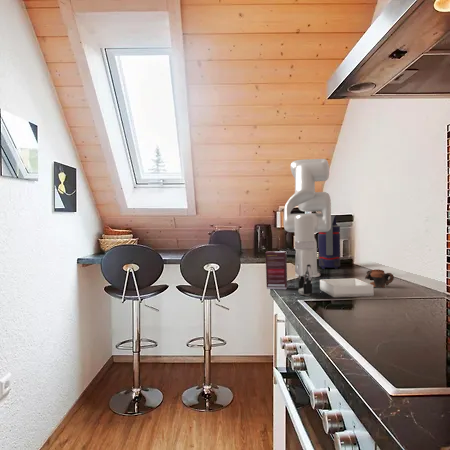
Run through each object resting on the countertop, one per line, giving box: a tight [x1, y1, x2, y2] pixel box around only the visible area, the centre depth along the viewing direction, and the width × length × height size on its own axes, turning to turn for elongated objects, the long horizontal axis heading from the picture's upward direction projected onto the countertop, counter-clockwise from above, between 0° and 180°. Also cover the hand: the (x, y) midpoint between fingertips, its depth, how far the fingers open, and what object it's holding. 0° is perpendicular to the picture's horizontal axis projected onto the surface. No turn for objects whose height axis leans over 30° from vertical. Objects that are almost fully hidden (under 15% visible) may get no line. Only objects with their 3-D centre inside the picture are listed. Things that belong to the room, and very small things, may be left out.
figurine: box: [298, 288, 311, 297], centre depth 146 cm, size 5×4×6 cm
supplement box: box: [265, 250, 288, 290], centre depth 160 cm, size 9×5×16 cm, turn 75°
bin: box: [319, 277, 375, 298], centre depth 150 cm, size 16×16×4 cm
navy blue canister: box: [318, 215, 341, 270], centre depth 214 cm, size 14×12×30 cm
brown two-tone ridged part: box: [364, 269, 395, 289], centre depth 161 cm, size 12×10×8 cm
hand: (305, 291), depth 146 cm, fingers open, 5 cm apart
